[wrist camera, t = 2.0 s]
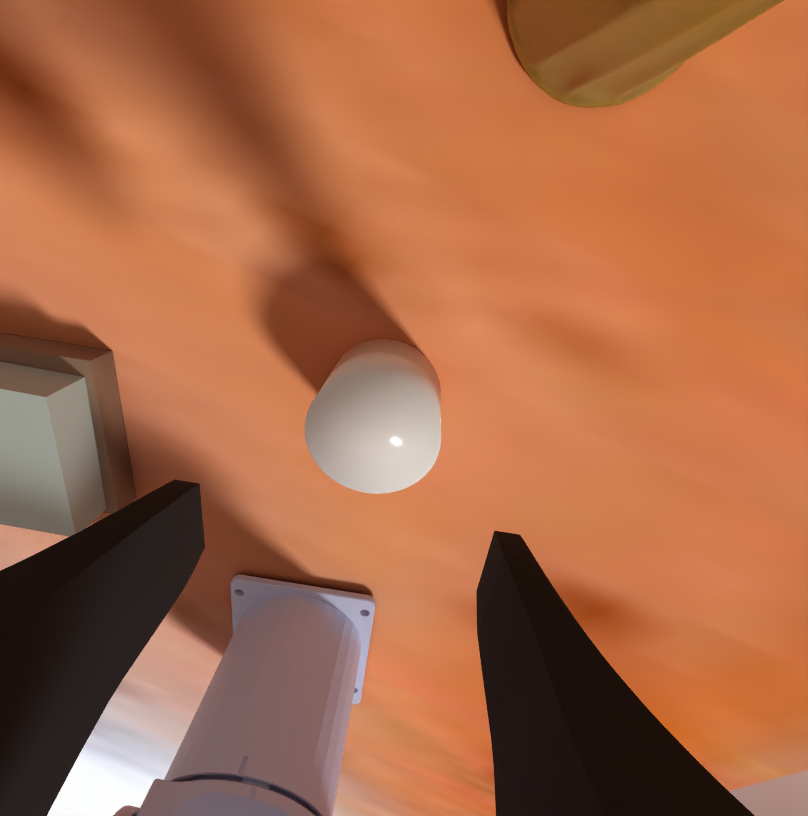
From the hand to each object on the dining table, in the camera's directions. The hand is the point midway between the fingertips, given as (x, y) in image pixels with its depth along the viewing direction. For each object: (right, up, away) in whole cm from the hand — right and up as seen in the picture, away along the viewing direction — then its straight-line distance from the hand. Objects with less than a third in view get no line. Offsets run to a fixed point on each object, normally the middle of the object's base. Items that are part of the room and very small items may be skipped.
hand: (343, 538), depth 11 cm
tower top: (-16, +2, +9) cm, 18 cm away
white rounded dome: (+1, +4, +8) cm, 9 cm away
